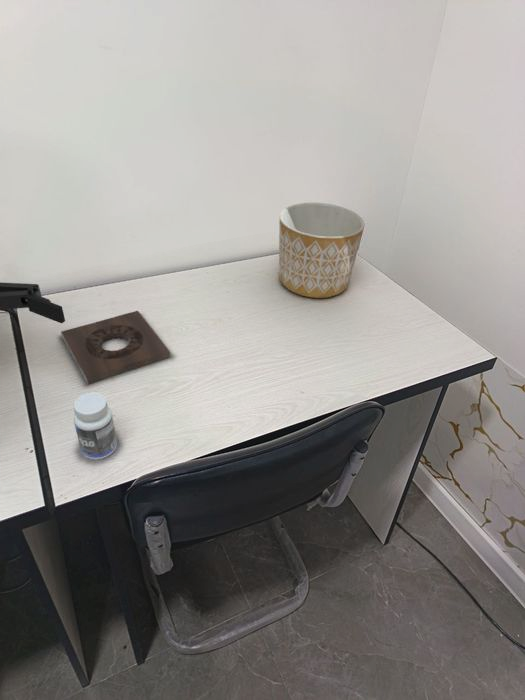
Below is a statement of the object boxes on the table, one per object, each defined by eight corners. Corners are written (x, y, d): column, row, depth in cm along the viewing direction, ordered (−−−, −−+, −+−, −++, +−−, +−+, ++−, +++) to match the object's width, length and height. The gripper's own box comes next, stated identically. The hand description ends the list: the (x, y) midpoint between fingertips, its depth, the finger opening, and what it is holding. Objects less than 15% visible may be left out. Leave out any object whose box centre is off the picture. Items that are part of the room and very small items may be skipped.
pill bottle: (73, 448, 77) (61, 403, 71) (102, 428, 81) (93, 384, 75) (96, 466, 75) (86, 421, 69) (124, 445, 78) (117, 401, 72)
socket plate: (87, 384, 89) (86, 378, 88) (62, 337, 99) (60, 331, 98) (170, 357, 96) (169, 351, 95) (138, 316, 106) (137, 310, 105)
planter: (301, 310, 112) (310, 243, 102) (260, 271, 125) (264, 209, 114) (368, 292, 120) (382, 228, 110) (322, 257, 133) (331, 197, 122)
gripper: (-4, 281, 88) (91, 317, 81) (-149, 359, 70) (-43, 412, 63) (-16, 243, 83) (83, 277, 76) (-175, 315, 65) (-63, 368, 58)
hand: (27, 338), depth 70 cm, fingers open, 13 cm apart
